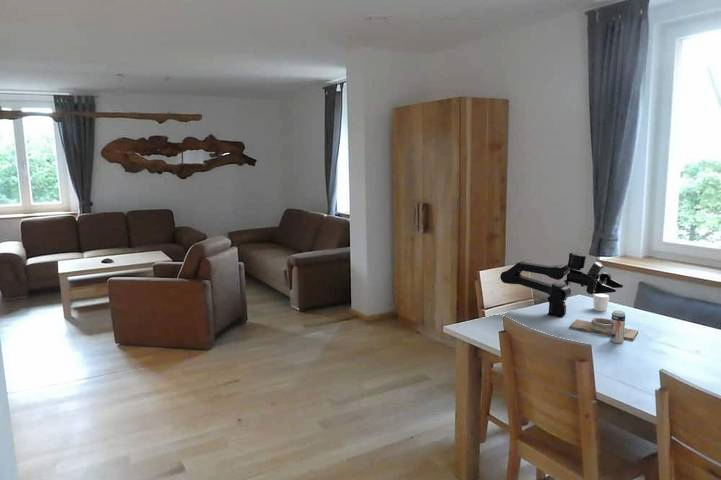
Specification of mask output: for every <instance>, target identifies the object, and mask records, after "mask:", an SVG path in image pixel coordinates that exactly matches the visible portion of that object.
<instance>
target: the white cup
mask: <svg viewBox="0 0 721 480" xmlns="http://www.w3.org/2000/svg"><path fill="white" fill-rule="evenodd" d="M609 302H610V295H609V294H608V293H601V294H593V310H595V311H597V312H606V311H608V306H609Z"/></svg>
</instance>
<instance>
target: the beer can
mask: <svg viewBox="0 0 721 480" xmlns="http://www.w3.org/2000/svg"><path fill="white" fill-rule="evenodd" d="M611 320H612V321H611V333H610V336H609V341H611V342H612V343H615V344H622V343H624V340H625V339H624V328H625V325H626V313H625V311H624V310H613V312H612V313H611Z"/></svg>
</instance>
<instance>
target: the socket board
mask: <svg viewBox="0 0 721 480" xmlns="http://www.w3.org/2000/svg"><path fill="white" fill-rule="evenodd" d="M611 321H612V318H611V319H609V318H604V317H595V318H592V320H591V321H587V320H583V319H576V320H574V321H573V322H572V323H571V324H570V325H569V329H571V330H576V331H580V332H585V333H591V334H594V335H595V334H596V335H602V336H605V337H606V336H607V337H610V333H611ZM638 334H639V330H636V329H632V328H627V327H626V328H625V327H624V339H623V340H627V341H632V342H633V341H634V340H635V339H636V337H637V336H638Z"/></svg>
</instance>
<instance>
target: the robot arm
mask: <svg viewBox="0 0 721 480" xmlns="http://www.w3.org/2000/svg"><path fill="white" fill-rule="evenodd" d="M568 254H569V255H568V263H567V264H565V265H563V264H557V265H554V264H553V265H546V264H541V263H540V264H539V263H532V262H526V261H523V260H521V261H519V262H516V263H515V264H514V265H513V266H512V267H510V268H509V269H507V270H504V271H502V272H501V273H500V281H501V282H502V283H504V284H509V285H521V286H523V287H525V288H528V289H529V288H530V289H532V290H535V291H539V292H541V293H545V294H547V295H548V296H547V303H548V312H547V315H548V316H553V317H556V318H557V317H558V318H563V317H564V316H565V315H566V314H567V305H566V301H567V299H568V298H570V297H571V295H572V291H571V288H570V287H569V286H570V285H571V284H572V283H573V284H577V285H579V286H580V287H582V288H583V287H586V290H585V291H586V293H587V294H588V295H591V296H592V295H593V294H601V293H602V294H609V293H616V292H617V289H622V288H624V285H623V284H622V283H620V282H618V281H616V280H615V279H613V278H612V276H611V273H610V272H607V271H604V272H602V273H600V272H601V270H602V269H604V265H603V264H602V262H599V261H595V262H594V263H593V264H592V265H591V267H590V268H589V269H588V271H586V272H585V271H581V270H582V269H584V268H585V265H586V260H587V259H586V258H587V255H586V253H583V252H580V253H578V252H569V253H568ZM522 272H527V273H534V274H540V275H545V276H547V277H548V278H551V279H553V280H557V281H556V282H554V283H547V282H545V281H541V280H537V279H534V278H531V277H528V276H525V275H523V274H521V273H522ZM562 279H565V280H563V282H564V283H562V282H559V281H560V280H562Z"/></svg>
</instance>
